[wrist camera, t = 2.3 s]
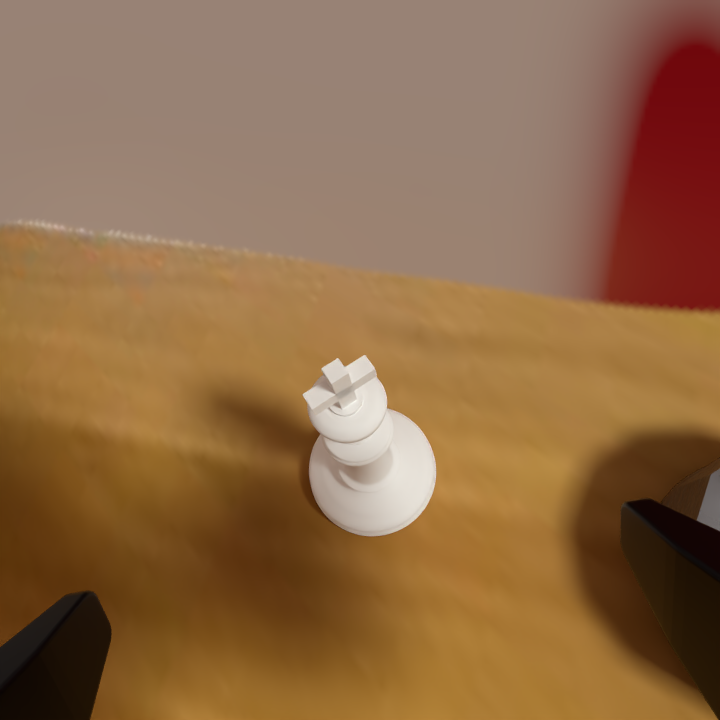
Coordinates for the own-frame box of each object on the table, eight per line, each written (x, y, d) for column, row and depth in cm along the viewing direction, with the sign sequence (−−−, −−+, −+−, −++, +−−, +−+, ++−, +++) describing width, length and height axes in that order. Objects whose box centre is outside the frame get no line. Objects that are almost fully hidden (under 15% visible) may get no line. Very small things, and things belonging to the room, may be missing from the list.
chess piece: (462, 487, 20) (500, 397, 10) (353, 563, 19) (293, 539, 10) (388, 387, 21) (367, 239, 12) (287, 453, 21) (185, 347, 12)
